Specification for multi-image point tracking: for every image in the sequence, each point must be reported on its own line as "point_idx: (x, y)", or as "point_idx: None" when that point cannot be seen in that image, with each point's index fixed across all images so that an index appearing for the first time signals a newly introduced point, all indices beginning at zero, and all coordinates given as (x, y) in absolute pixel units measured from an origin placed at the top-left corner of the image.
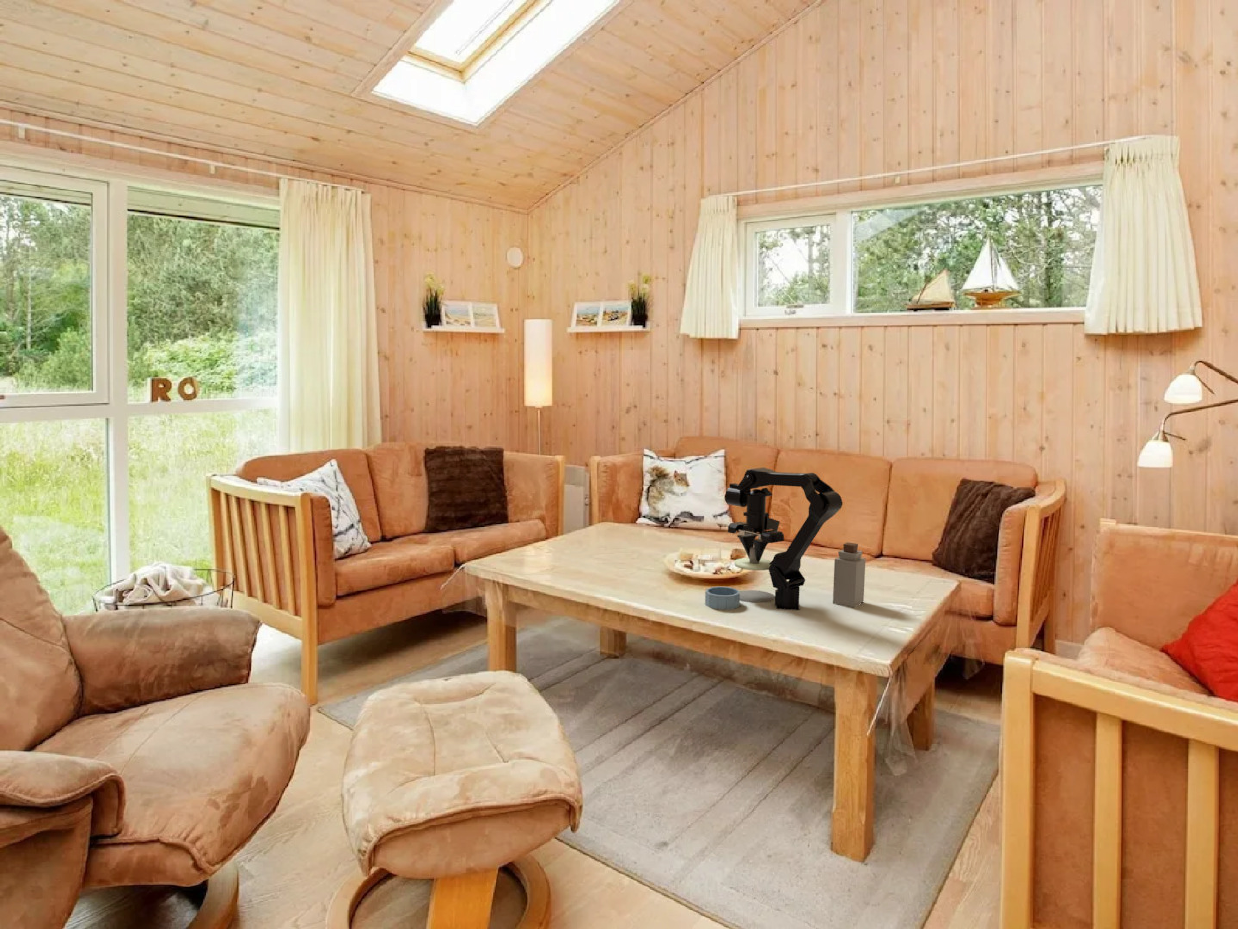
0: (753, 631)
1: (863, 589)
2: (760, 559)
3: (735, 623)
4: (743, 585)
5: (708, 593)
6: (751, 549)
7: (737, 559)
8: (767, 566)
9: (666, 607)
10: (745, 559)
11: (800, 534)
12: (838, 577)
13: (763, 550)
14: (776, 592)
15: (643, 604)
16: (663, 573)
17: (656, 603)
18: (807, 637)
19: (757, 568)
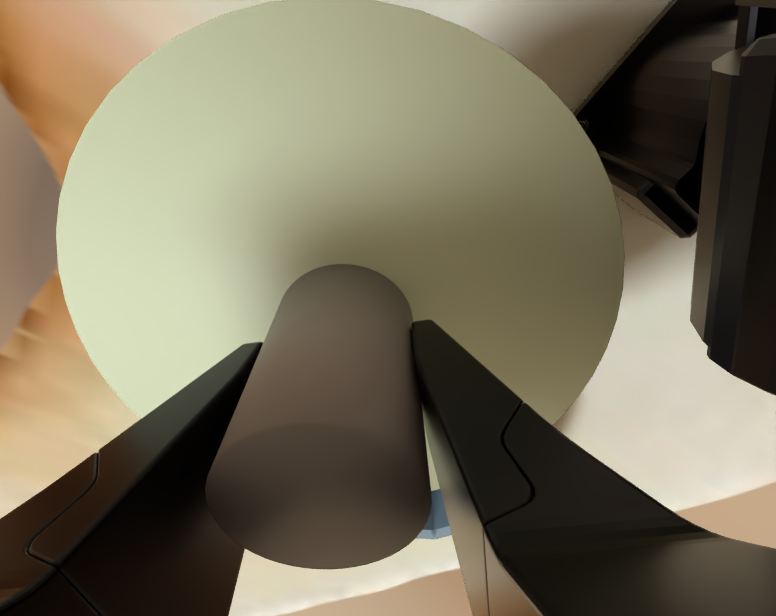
0: (770, 474)
1: None
2: (197, 133)
3: (651, 481)
4: (45, 68)
5: (423, 538)
6: (352, 558)
7: (136, 412)
8: (597, 289)
9: (343, 572)
10: (151, 335)
11: None
12: None
13: (531, 424)
14: (692, 234)
15: (280, 605)
16: None
17: (284, 578)
18: None
19: (559, 409)
